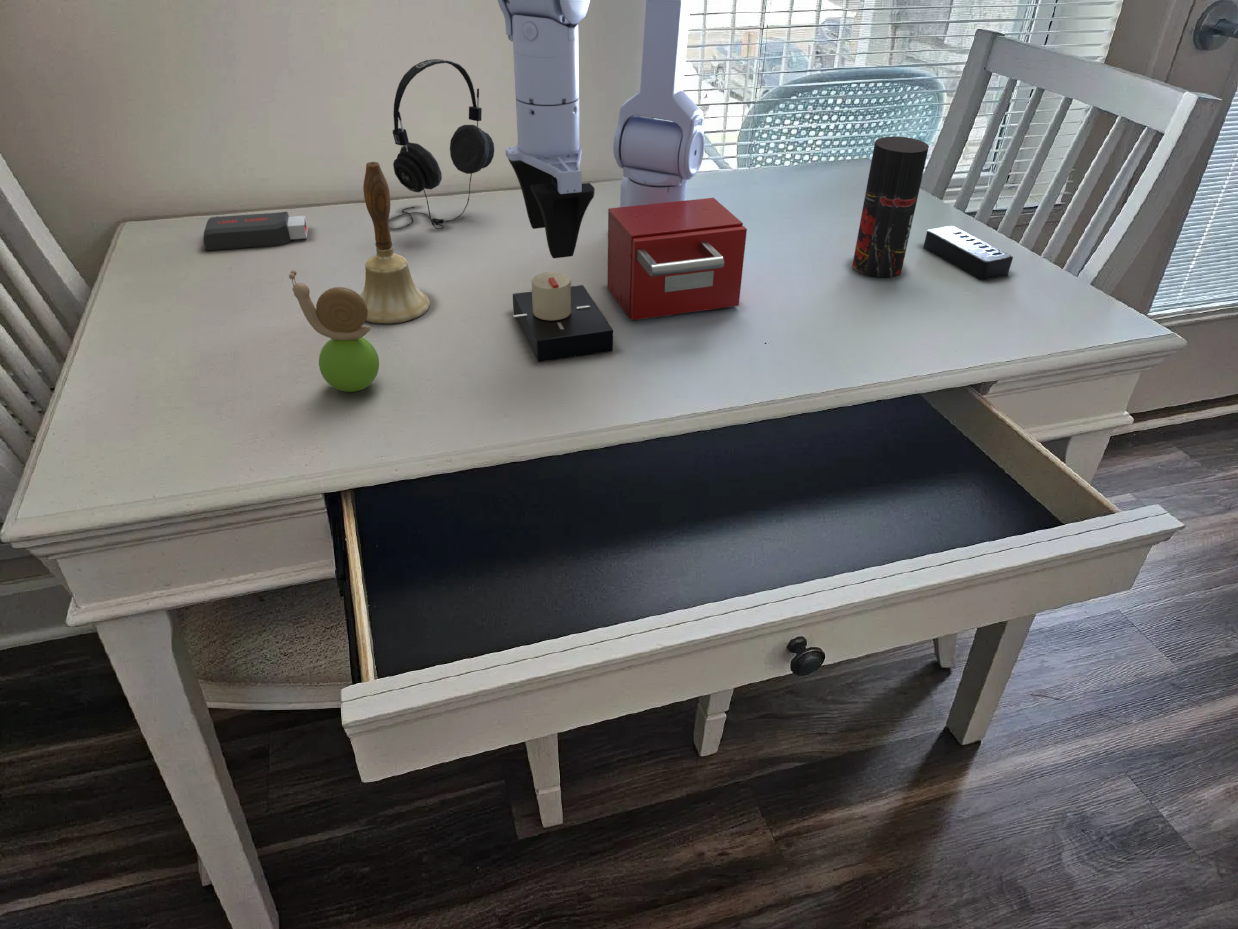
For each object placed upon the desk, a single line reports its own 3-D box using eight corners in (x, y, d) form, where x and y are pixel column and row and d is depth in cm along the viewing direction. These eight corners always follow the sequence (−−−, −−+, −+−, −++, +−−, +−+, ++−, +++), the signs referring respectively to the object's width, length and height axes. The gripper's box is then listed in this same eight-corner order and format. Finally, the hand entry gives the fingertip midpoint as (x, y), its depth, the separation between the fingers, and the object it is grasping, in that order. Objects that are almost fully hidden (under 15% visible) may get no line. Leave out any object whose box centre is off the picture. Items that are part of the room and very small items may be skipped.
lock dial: (528, 305, 94) (527, 271, 92) (565, 301, 95) (564, 267, 93) (538, 322, 91) (536, 287, 89) (575, 317, 92) (575, 283, 90)
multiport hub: (981, 280, 107) (986, 262, 106) (921, 246, 115) (925, 229, 114) (1009, 274, 109) (1015, 256, 107) (948, 241, 117) (952, 224, 115)
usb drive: (210, 234, 114) (205, 213, 113) (307, 227, 117) (303, 207, 115) (205, 250, 110) (200, 229, 109) (306, 243, 113) (302, 222, 111)
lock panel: (503, 315, 98) (502, 293, 96) (583, 305, 100) (583, 283, 99) (527, 364, 90) (525, 340, 88) (613, 351, 92) (613, 328, 90)
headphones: (447, 193, 128) (432, 41, 116) (506, 211, 123) (497, 54, 111) (366, 224, 118) (341, 62, 106) (427, 245, 113) (407, 77, 101)
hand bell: (443, 297, 101) (427, 155, 92) (406, 329, 95) (385, 181, 85) (379, 285, 103) (357, 145, 94) (338, 316, 97) (311, 170, 87)
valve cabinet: (607, 288, 104) (608, 208, 98) (707, 275, 107) (713, 197, 101) (629, 319, 98) (631, 235, 92) (734, 304, 101) (743, 222, 95)
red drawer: (630, 317, 97) (632, 238, 92) (736, 302, 100) (744, 225, 95) (647, 341, 93) (651, 259, 88) (757, 325, 96) (767, 245, 91)
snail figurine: (319, 374, 87) (295, 258, 80) (386, 372, 88) (367, 257, 81) (308, 404, 83) (281, 285, 76) (378, 402, 83) (358, 283, 76)
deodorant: (902, 280, 107) (930, 154, 98) (852, 275, 108) (875, 150, 99) (900, 260, 112) (927, 138, 103) (852, 256, 112) (874, 134, 103)
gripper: (486, 80, 85) (496, 218, 93) (523, 123, 74) (530, 275, 82) (558, 75, 87) (561, 211, 95) (604, 116, 76) (603, 266, 84)
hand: (551, 240), depth 88 cm, fingers open, 7 cm apart
